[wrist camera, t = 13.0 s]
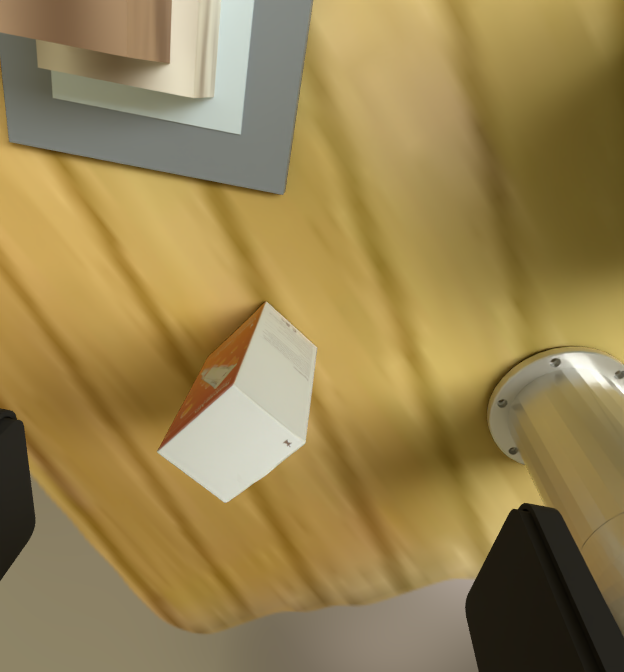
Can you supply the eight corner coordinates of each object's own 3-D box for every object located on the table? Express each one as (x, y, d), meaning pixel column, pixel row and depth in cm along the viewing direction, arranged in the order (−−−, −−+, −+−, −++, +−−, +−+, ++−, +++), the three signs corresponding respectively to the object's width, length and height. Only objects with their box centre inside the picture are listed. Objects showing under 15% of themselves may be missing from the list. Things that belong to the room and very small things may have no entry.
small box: (265, 298, 40) (233, 382, 29) (319, 347, 42) (309, 444, 31) (205, 356, 43) (153, 453, 32) (257, 399, 45) (226, 507, 33)
